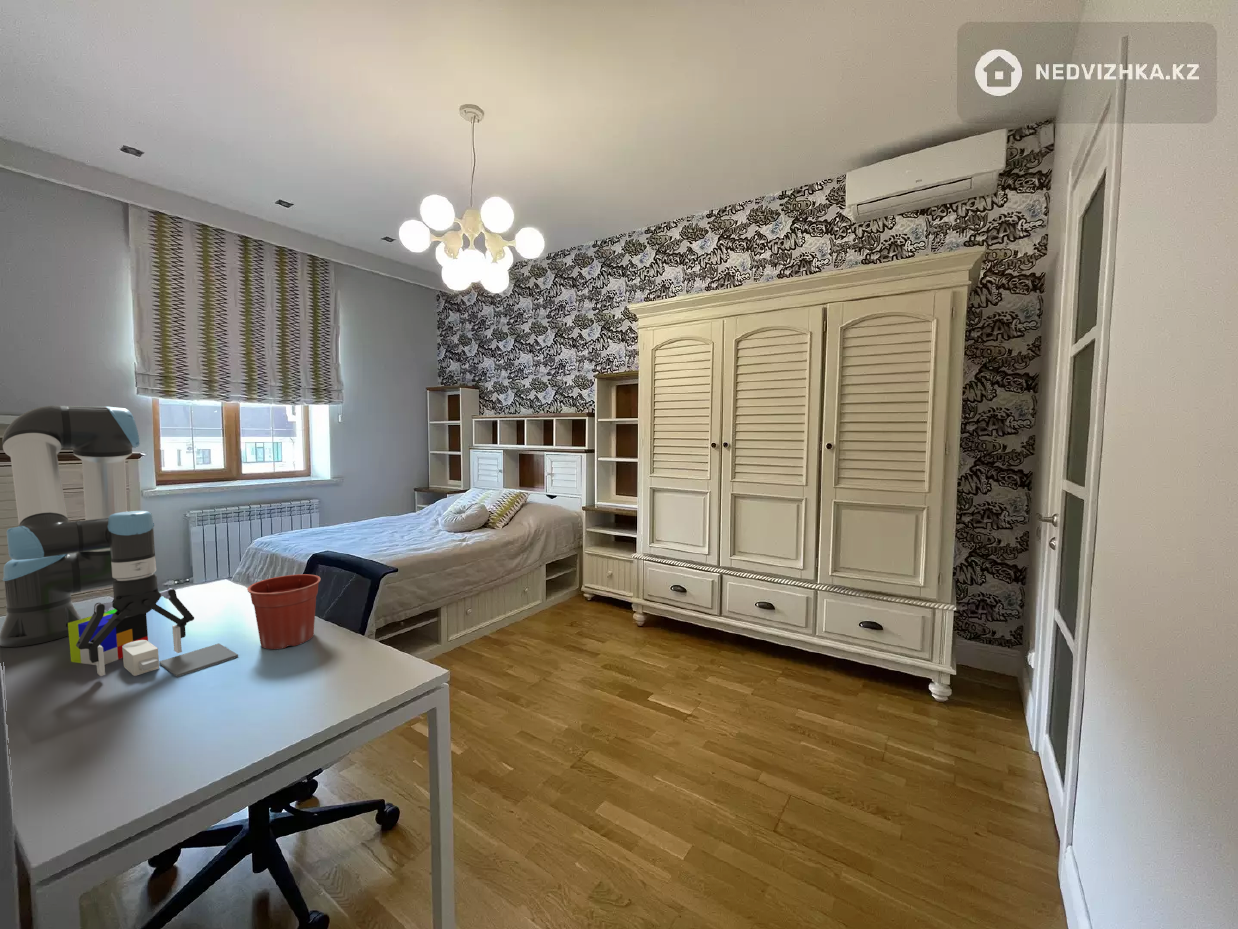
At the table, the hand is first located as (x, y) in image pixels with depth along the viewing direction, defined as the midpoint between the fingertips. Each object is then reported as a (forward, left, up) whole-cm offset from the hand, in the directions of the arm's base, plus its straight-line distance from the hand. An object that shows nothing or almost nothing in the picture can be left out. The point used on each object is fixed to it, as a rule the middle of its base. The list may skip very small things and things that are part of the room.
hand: (141, 662), depth 118 cm
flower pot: (+13, +27, -2) cm, 29 cm away
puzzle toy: (-16, -2, -2) cm, 16 cm away
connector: (0, 0, -1) cm, 1 cm away
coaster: (+7, +9, -1) cm, 11 cm away
